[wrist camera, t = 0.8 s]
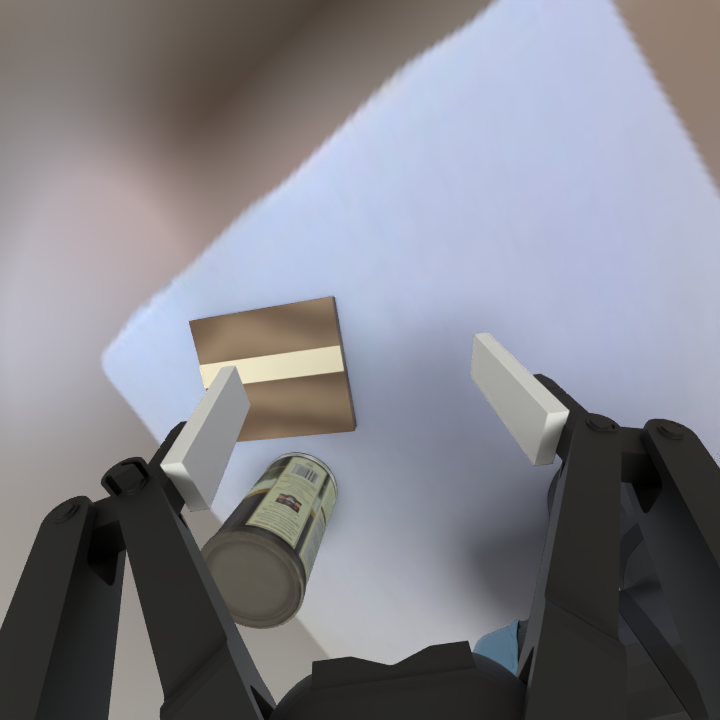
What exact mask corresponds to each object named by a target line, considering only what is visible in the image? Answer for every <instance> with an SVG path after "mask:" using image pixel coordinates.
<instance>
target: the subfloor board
mask: <svg viewBox="0 0 720 720" xmlns="http://www.w3.org/2000/svg"><path fill="white" fill-rule="evenodd" d="M189 324H190V328H191V332H192V336H193V340H194V344H195V348H196V351H197V355H198V359H199V363H200V365H204V364H211V363H218V362H225V361H233V360H240V359H247V358H254V357H261V356H268V355H275V354H282V353H289V352H296V351H303V350H310V349H317V348H324V347H331V346H338V345H340V349H341V355H342V361H343V367H344V371H340V372H333V373H325V374H317V375H309V376H301V377H293V378H285V379H277V380H269V381H261V382H254V383H246V384H243V386H244V389H245V392H246V394H247V397H248V400H249V402H250V407H249V410H248V413H247V415H246V418H245V420H244V423H243V425H242V428H241V431H240V433H239V436H238V438H237V441H236V442H240V441H251V440H262V439H273V438H284V437H295V436H306V435H317V434H328V433H339V432H350V431H355V429H356V420H355V414H354V408H353V402H352V397H351V391H350V385H349V379H348V373H347V367H346V361H345V356H344V350H343V344H342V338H341V332H340V326H339V320H338V314H337V309H336V303H335V297H327V298H321V299H315V300H309V301H303V302H297V303H292V304H286V305H280V306H274V307H268V308H262V309H257V310H251V311H245V312H239V313H233V314H227V315H221V316H216V317H210V318H204V319H198V320H192V321H189ZM207 390H208V388H206V391H207Z"/></svg>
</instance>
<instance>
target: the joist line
mask: <svg viewBox="0 0 720 720" xmlns="http://www.w3.org/2000/svg"><path fill="white" fill-rule="evenodd" d="M235 365H236V368H237V371H238V373H239V376H240V378H241V381H242V384H246V383H254V382H261V381H269V380H277V379H285V378H293V377H301V376H309V375H317V374H325V373H333V372H340V371H344V367H343V361H342V355H341V349H340V345H338V346H331V347H324V348H317V349H310V350H303V351H296V352H289V353H282V354H275V355H268V356H261V357H254V358H247V359H240V360H233V361H225V362H218V363H211V364H204V365H199V368H200V372H201V376H202V379H203V383H204V387H205V389H206V388H209V386H210V385H211V383H212V382H213V380H214V379H215V377H216V375H217V374H218V372H219V371H220V369H221V367H227V366H235Z"/></svg>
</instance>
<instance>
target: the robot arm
mask: <svg viewBox="0 0 720 720" xmlns="http://www.w3.org/2000/svg"><path fill="white" fill-rule="evenodd" d="M470 376H471V378H472V379H473V381H474V382H475V383H476V385H477V386H478V388H479V389H480V390H481V392H482V393H483V395H484V396H485V398H486V399H487V400H488V402H489V403H490V405H491V406H492V407H493V409H494V410H495V412H496V413H497V415H498V416H499V417H500V419H501V420H502V422H503V423H504V424H505V426H506V427H507V429H508V430H509V431H510V433H511V434H512V436H513V437H514V439H515V440H516V441H517V443H518V444H519V446H520V447H521V448H522V450H523V451H524V453H525V454H526V456H527V457H528V458H529V460H530V461H531V463H532V464H533V465H534V466H539V465H546V464H553V461H554V458H555V455H556V453H557V454H558V456H559V457H560V458H561V459H562V460H563V462H562V465H561V468H560V470H559V472H558V473H557V475H556V476H555V478H554V480H553V482H552V484H551V487H550V491H549V496H548V507H549V513H550V521H549V526H548V531H547V536H546V541H545V545H544V550H543V555H542V560H541V565H540V569H539V574H538V579H537V584H536V589H535V593H534V598H533V603H532V608H531V613H530V617H529V619H528V620H525V621H522V622H520V620H514V621H513V623H512V625H510V626H507V627H505V628H502V629H500V630H497V631H494V632H492V633H489V634H487V635H485V636H483V637H482V638H480V639H479V640H478V642H477V643H476V645H475V647H474V650H473V652H471V649H470V646H469V642H468V641H462V642H454V643H447V644H439V645H432V646H429V647H427V648H425V649H423V650H421V651H419V652H417V653H416V654H414V655H412V656H410V657H408V658H406V659H404V660H402V661H400V662H399V663H397V664H394V665H386V664H381V663H377V662H373V661H368V660H364V659H359V658H355V657H343V658H336V659H329V660H322V661H314V662H313V663H312V674H311V675H309V676H307V677H305V678H304V679H303V680H301V681H300V682H298V683H297V684H296V685H295V686H294V687H293V688H292V689H291V690H290V691H289V692H288V693H287V694H286V695H285V696H284V697H283V699H282V700H281V701H280V702H279V703H278V705H276V703H275V701H274V699H273V697H272V696H271V693H270V692H269V690H268V688H267V687H266V685H265V683H264V682H263V680H262V678H261V677H260V674H259V673H258V671H257V669H256V667H255V665H254V662H253V660H252V658H251V656H250V654H249V652H248V650H247V648H246V646H245V644H244V642H243V639H242V638H241V635H240V633H239V631H238V629H237V627H236V625H235V623H234V621H233V619H232V617H231V614H230V612H229V610H228V608H227V606H226V604H225V602H224V600H223V598H222V596H221V594H220V592H219V590H218V587H217V585H216V583H215V581H214V579H213V577H212V575H211V573H210V571H209V569H208V567H207V565H206V562H205V560H204V558H203V556H202V554H201V552H200V550H199V548H198V546H197V544H196V542H195V540H194V538H193V535H192V534H191V531H190V529H189V527H188V525H187V523H186V521H185V519H184V517H183V515H182V514H181V510H182V508H183V506H184V504H186V505H187V507H188V508H189V510H190V511H191V512H193V511H200V510H208V509H210V507H211V505H212V502H213V500H214V497H215V495H216V492H217V490H218V487H219V484H220V482H221V479H222V477H223V474H224V472H225V469H226V466H227V464H228V461H229V459H230V456H231V454H232V451H233V448H234V446H235V443H236V441H237V438H238V436H239V433H240V431H241V428H242V425H243V423H244V420H245V418H246V415H247V413H248V410H249V407H250V402H249V400H248V397H247V394H246V392H245V389H244V386H243V384H242V381H241V378H240V376H239V373H238V371H237V368H236V365H235V366H227V367H221V369H220V371H219V372H218V374H217V375H216V377H215V379H214V380H213V382H212V383H211V385H210V386H209V388H208V390H207V391H206V393H205V394H204V396H203V398H202V399H201V401H200V402H199V404H198V406H197V407H196V409H195V410H194V412H193V413H192V415H191V417H190V418H189V420H188V421H184V422H180V423H179V424H178V425H177V426H176V427H174V428H173V429H172V430H171V431H170V433H169V434H168V436H167V437H166V439H165V441H164V442H163V443H162V445H161V446H160V448H159V449H158V451H157V452H156V453H155V455H154V456H153V458H152V459H151V461H150V462H149V464H148V465H147V463H146V462H145V460H144V459H143V458H142V457H132V458H128V459H126V460H123V461H121V462H119V463H118V464H116V465H114V466H113V467H112V468H110V469H109V470H108V471H107V472H106V473H105V475H104V476H103V478H102V480H101V485H102V486H103V487H104V488H105V489H106V491H107V492H108V493H109V494H110V495H111V496H110V497H107V498H104V499H102V500H99V501H96V502H94V503H93V502H92V501H91V500H90V499H89V498H88V497H86V496H77V497H74V498H71V499H69V500H67V501H65V502H63V503H61V504H60V505H58V506H57V507H55V508H54V509H53V510H52V511H51V512H50V513H49V514H48V515H47V516H46V517H45V519H44V520H43V522H42V523H41V526H40V529H39V531H38V534H37V537H36V539H35V542H34V544H33V547H32V549H31V552H30V554H29V557H28V560H27V562H26V565H25V567H24V570H23V573H22V575H21V578H20V580H19V583H18V586H17V588H16V591H15V593H14V596H13V598H12V601H11V604H10V606H9V609H8V611H7V614H6V617H5V619H4V622H3V624H2V627H1V629H0V720H108V715H109V704H110V696H111V686H112V677H113V669H114V659H115V650H116V640H117V631H118V622H119V613H120V604H121V595H122V585H123V576H124V566H125V558H126V549H127V553H128V557H129V561H130V565H131V568H132V572H133V576H134V580H135V584H136V587H137V592H138V596H139V599H140V603H141V607H142V611H143V615H144V619H145V623H146V626H147V630H148V634H149V638H150V642H151V646H152V650H153V654H154V657H155V661H156V665H157V669H158V673H159V677H160V681H161V685H162V688H163V693H164V703H163V705H162V706H161V708H160V720H720V468H719V467H718V465H717V464H716V462H715V461H714V460H713V458H712V457H711V455H710V454H709V452H708V451H707V449H706V448H705V447H704V445H703V444H702V442H701V441H700V439H699V438H698V437H697V435H696V434H695V433H694V432H693V431H692V430H690V429H689V428H687V427H685V426H684V425H681V424H679V423H676V422H674V421H670V420H665V419H651V420H648V421H647V423H646V424H645V426H644V428H643V429H640V428H629V427H620V426H619V425H618V424H617V423H616V422H615V421H613V420H611V419H610V418H608V417H605V416H602V415H599V414H593V413H588V412H587V411H586V410H585V409H584V408H583V407H582V406H581V405H580V404H578V403H577V402H576V401H575V400H574V399H573V398H572V397H571V396H570V395H568V394H566V392H565V391H564V390H563V389H562V388H560V386H558V385H557V384H556V383H555V382H554V381H553V380H552V379H550V378H548V377H546V376H544V375H542V374H535V375H532V374H531V373H530V372H529V371H528V370H526V369H525V368H524V367H523V366H522V365H521V364H520V363H519V362H518V361H517V360H516V359H515V358H514V357H513V356H512V355H511V354H510V353H509V352H508V351H507V350H506V349H505V348H504V347H503V346H502V345H501V344H500V343H498V342H497V341H496V340H495V339H494V338H493V337H492V336H491V335H490V334H489V333H488V332H487V333H479V334H474V340H473V351H472V362H471V373H470ZM619 588H620V589H621V590H620V591H619Z"/></svg>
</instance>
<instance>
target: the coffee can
mask: <svg viewBox="0 0 720 720" xmlns="http://www.w3.org/2000/svg"><path fill="white" fill-rule="evenodd" d="M336 498H337V486H336V482H335V479H334V476H333V475H332V473H331V471H330V470H329V469H328V467H327V466H326V465H325V464H324V463H322V462H321V461H319V460H318V459H316V458H314V457H312V456H310V455H307V454H302V453H289V454H285V455H282V456H280V457H278V458H277V459H275V460H274V461H273V462H272V463H271V464H270V465H269V467H268V469H267V470H266V471H265V473H264V474H263V475H262V476H261V478H260V479H259V480H258V482H257V483H256V484H255V485H254V487H253V488H252V489H251V491H250V492H249V493H248V494H247V495H246V497H245V498H244V499H243V500H242V502H241V503H240V504H239V505H238V507H237V508H236V509H235V510H234V512H233V513H232V514H231V515H230V517H229V518H228V519H227V520H226V521H225V522H224V524H223V525H222V527H221V528H220V529H219V530H218V532H217V533H216V534H215V535H214V536H213V537H212V538H211V539H210V540H209V541H208V542H207V543H206V544H205V545H204V546H203V548H202V549H201V551H200V552H201V554H202V556H203V558H204V560H205V562H206V565H207V567H208V569H209V571H210V573H211V575H212V577H213V579H214V581H215V583H216V585H217V587H218V590H219V592H220V594H221V596H222V598H223V600H224V602H225V604H226V606H227V608H228V610H229V612H230V614H231V617H232V619H233V621H234V622H235V623H237V624H239V625H242V626H245V627H250V628H257V629H268V628H274V627H278V626H280V625H283V624H285V623H286V622H288V621H289V620H291V619H292V618H293V617H294V616H295V615H296V614H297V612H298V611H299V609H300V607H301V605H302V603H303V599H304V595H305V591H306V586H307V583H308V580H309V577H310V574H311V571H312V568H313V565H314V562H315V559H316V556H317V553H318V550H319V547H320V544H321V541H322V538H323V535H324V532H325V529H326V526H327V523H328V520H329V517H330V514H331V511H332V508H333V506H334V504H335V502H336Z"/></svg>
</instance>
